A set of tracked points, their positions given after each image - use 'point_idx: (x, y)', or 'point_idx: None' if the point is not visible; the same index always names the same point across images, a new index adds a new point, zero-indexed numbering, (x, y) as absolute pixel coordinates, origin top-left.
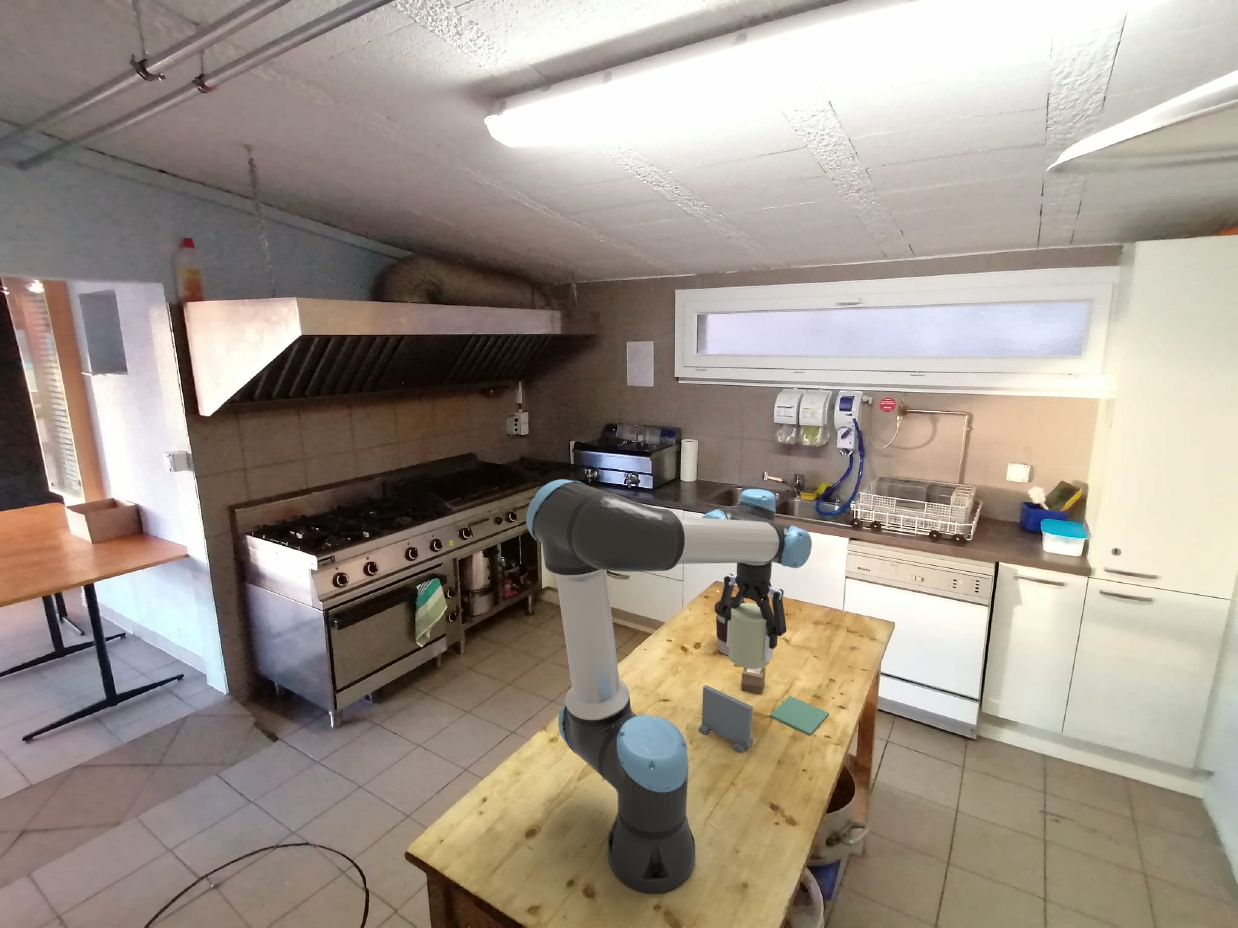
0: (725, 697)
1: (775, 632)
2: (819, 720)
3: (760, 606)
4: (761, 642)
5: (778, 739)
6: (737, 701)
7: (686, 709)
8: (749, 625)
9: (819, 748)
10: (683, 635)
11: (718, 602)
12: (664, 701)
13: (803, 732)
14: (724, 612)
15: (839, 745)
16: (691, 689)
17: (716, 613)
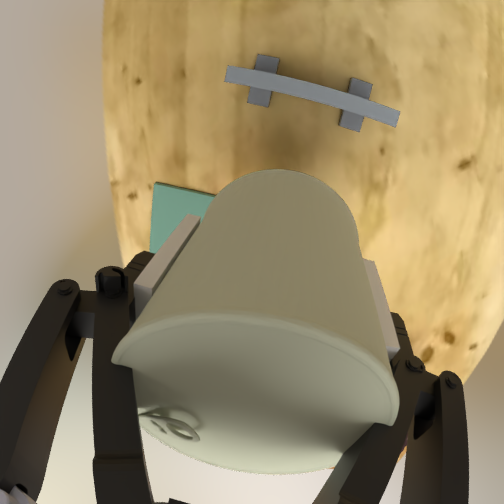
0: (317, 85)
1: (93, 302)
2: (154, 229)
3: (123, 455)
4: (181, 253)
5: (204, 138)
6: (275, 82)
7: (418, 148)
8: (213, 286)
9: (132, 155)
10: (450, 368)
11: (406, 442)
12: (464, 159)
13: (169, 185)
14: (426, 389)
15: (110, 182)
16: (424, 223)
17: None
